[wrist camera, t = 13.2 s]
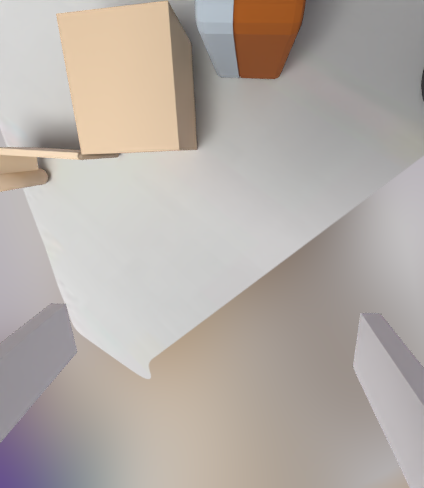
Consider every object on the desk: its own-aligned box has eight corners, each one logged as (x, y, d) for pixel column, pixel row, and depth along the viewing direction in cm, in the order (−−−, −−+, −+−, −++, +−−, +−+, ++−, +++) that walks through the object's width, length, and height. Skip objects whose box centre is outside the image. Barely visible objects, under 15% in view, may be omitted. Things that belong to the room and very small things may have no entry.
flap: (28, 147, 46) (-29, 146, 36) (118, 152, 44) (83, 153, 35) (34, 183, 48) (-19, 192, 38) (120, 190, 46) (87, 200, 37)
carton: (191, 43, 39) (167, 0, 28) (197, 149, 43) (179, 150, 32) (109, 51, 41) (56, 13, 29) (123, 153, 45) (81, 154, 34)
